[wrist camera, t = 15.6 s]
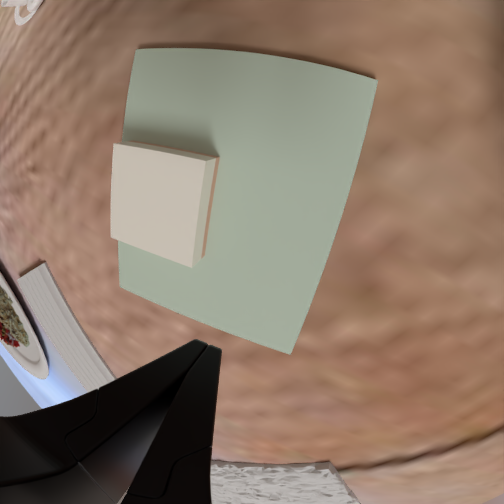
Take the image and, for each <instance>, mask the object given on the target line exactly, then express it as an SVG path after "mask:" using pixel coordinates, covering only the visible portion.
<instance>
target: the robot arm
mask: <svg viewBox="0 0 504 504" xmlns="http://www.w3.org/2000/svg"><path fill="white" fill-rule="evenodd" d="M221 355H222V350H221V349H220V348H218V347H215V346H213V345H208V344H207V343H205V342H203V341H200V340H198V339H194V340H192V341H190V342H188V343H187V344H185V345H183V346H181V347H179V348H177V349H175V350H173V351H171V352H169V353H167V354H166V355H164V356H162V357H160V358H158V359H156V360H154V361H152V362H150V363H148V364H146V365H144V366H142V367H140V368H138V369H136V370H134V371H132V372H130V373H128V374H126V375H124V376H122V377H120V378H118V379H116V380H114V381H112V382H109V383H107V384H105V385H103V386H101V387H99V390H98V389H95V390H92V391H90V392H88V393H86V394H84V395H81V396H79V397H77V398H74V399H72V400H69V401H66V402H63V403H60V404H57V405H54V406H51V407H47V408H44V409H41V410H37V411H34V412H30V413H27V414H23V415H18V416H12V417H0V504H117V503H118V501H119V500H120V498H121V497H122V496H123V494H124V493H125V492H126V490H127V489H128V488H129V489H128V491H127V494H126V495H125V497H124V499H123V501H122V502H121V504H212V498H211V480H210V474H211V456H212V444H213V433H214V423H215V413H216V403H217V393H218V383H219V374H220V365H221ZM129 486H130V487H129Z"/></svg>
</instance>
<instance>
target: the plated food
mask: <svg viewBox="0 0 504 504" xmlns="http://www.w3.org/2000/svg"><path fill="white" fill-rule="evenodd" d="M0 342H1V343H2V344H3V346H4V347H5V348H6V350H7V351H8V352H9V353H10V354H11V356H12V357H13V358H14V359H15V360H16V361H17V362H18V363H19V364H20V365H21V366H22V367H23V368H24V369H25V370H27V371H28V372H29V373H30V374H32V375H33V376H35V377H37V378H39V379H46V378H47V376H48V375H49V368H48V363H47V360H46V357H45V354H44V352H43V349H42V347H41V345H40V343H39V340H38V338H37V336H36V334H35V332H34V330H33V328H32V326H31V324H30V322H29V320H28V318H27V316H26V314H25V312H24V310H23V309H22V307H21V305H20V303H19V301H18V300H17V298H16V296H15V294H14V293H13V291H12V289H11V288H10V286H9V285H8V283H7V281H6V280H5V278H4V277H3V275H2V274H1V272H0Z"/></svg>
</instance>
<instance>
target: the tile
mask: <svg viewBox="0 0 504 504" xmlns="http://www.w3.org/2000/svg"><path fill="white" fill-rule="evenodd" d="M219 160H220V157H218V156H213V155H209V154H204V153H199V152H194V151H189V150H184V149H179V148H174V147H169V146H163V145H158V144H152V143H146V142H140V141H134V140H131V141H125V142H119V143H114V147H113V161H112V180H111V238H114V239H116V240H119V241H121V242H124V243H127V244H129V245H132V246H134V247H137V248H140V249H142V250H145V251H147V252H150V253H153V254H155V255H158V256H161V257H163V258H166V259H169V260H172V261H174V262H177V263H180V264H182V265H185V266H188V267H191V268H192V267H193V266H194V265H195V264H196V263H197V262H198V261H199V260H200V259H202V258H203V257H204V256H205V250H206V243H207V235H208V229H209V222H210V215H211V208H212V202H213V196H214V189H215V183H216V177H217V171H218V165H219Z"/></svg>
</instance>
